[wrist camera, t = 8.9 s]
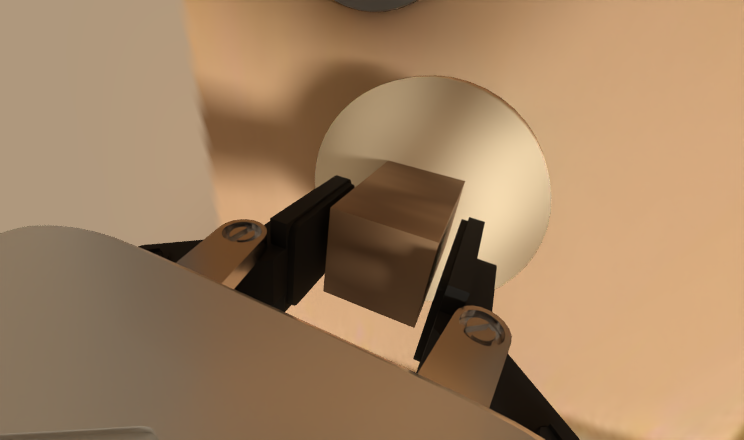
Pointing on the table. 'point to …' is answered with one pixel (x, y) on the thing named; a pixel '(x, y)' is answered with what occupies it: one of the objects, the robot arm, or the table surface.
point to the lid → (428, 190)
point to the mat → (376, 4)
